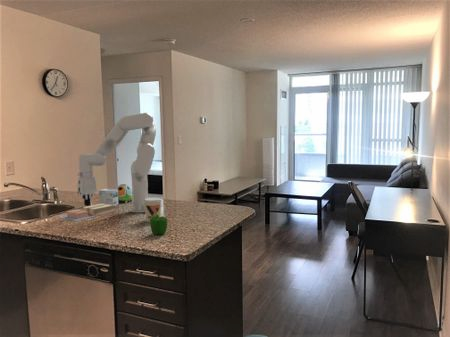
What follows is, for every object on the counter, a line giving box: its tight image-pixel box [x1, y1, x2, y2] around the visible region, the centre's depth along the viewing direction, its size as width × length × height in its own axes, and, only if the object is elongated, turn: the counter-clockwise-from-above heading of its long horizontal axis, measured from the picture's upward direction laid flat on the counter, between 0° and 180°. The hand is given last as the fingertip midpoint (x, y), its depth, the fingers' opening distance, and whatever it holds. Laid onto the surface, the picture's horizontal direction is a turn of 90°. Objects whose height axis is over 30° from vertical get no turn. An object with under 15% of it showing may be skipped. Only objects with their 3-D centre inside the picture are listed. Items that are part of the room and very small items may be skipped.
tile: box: [66, 208, 88, 219], centre depth 223 cm, size 10×7×3 cm
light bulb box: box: [98, 188, 119, 207], centre depth 257 cm, size 11×7×11 cm, turn 76°
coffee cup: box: [144, 197, 162, 223], centre depth 214 cm, size 9×9×12 cm
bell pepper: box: [149, 214, 168, 236], centre depth 187 cm, size 8×8×10 cm
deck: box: [81, 203, 115, 217], centre depth 235 cm, size 12×14×4 cm
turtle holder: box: [115, 183, 132, 204], centre depth 273 cm, size 12×18×12 cm
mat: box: [58, 215, 96, 222], centre depth 223 cm, size 16×13×1 cm
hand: (87, 205), depth 228 cm, fingers closed
